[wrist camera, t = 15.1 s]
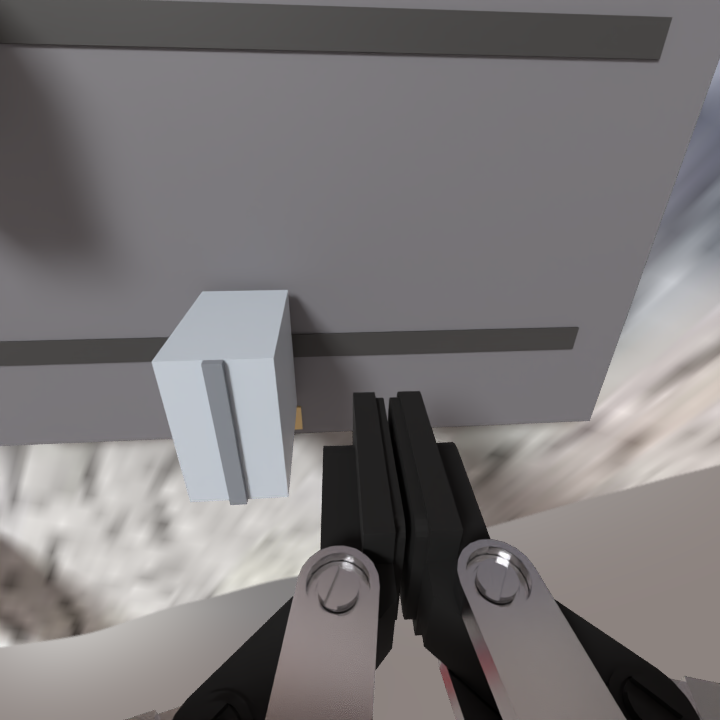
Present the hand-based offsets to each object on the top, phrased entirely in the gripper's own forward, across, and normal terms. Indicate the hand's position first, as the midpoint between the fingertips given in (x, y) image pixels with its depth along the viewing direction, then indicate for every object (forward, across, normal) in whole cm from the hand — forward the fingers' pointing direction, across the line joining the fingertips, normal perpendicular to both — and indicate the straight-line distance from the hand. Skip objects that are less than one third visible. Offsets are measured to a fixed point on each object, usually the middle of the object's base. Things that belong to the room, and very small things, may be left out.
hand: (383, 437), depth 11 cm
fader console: (+10, +3, -4) cm, 11 cm away
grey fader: (+6, +4, +1) cm, 7 cm away
